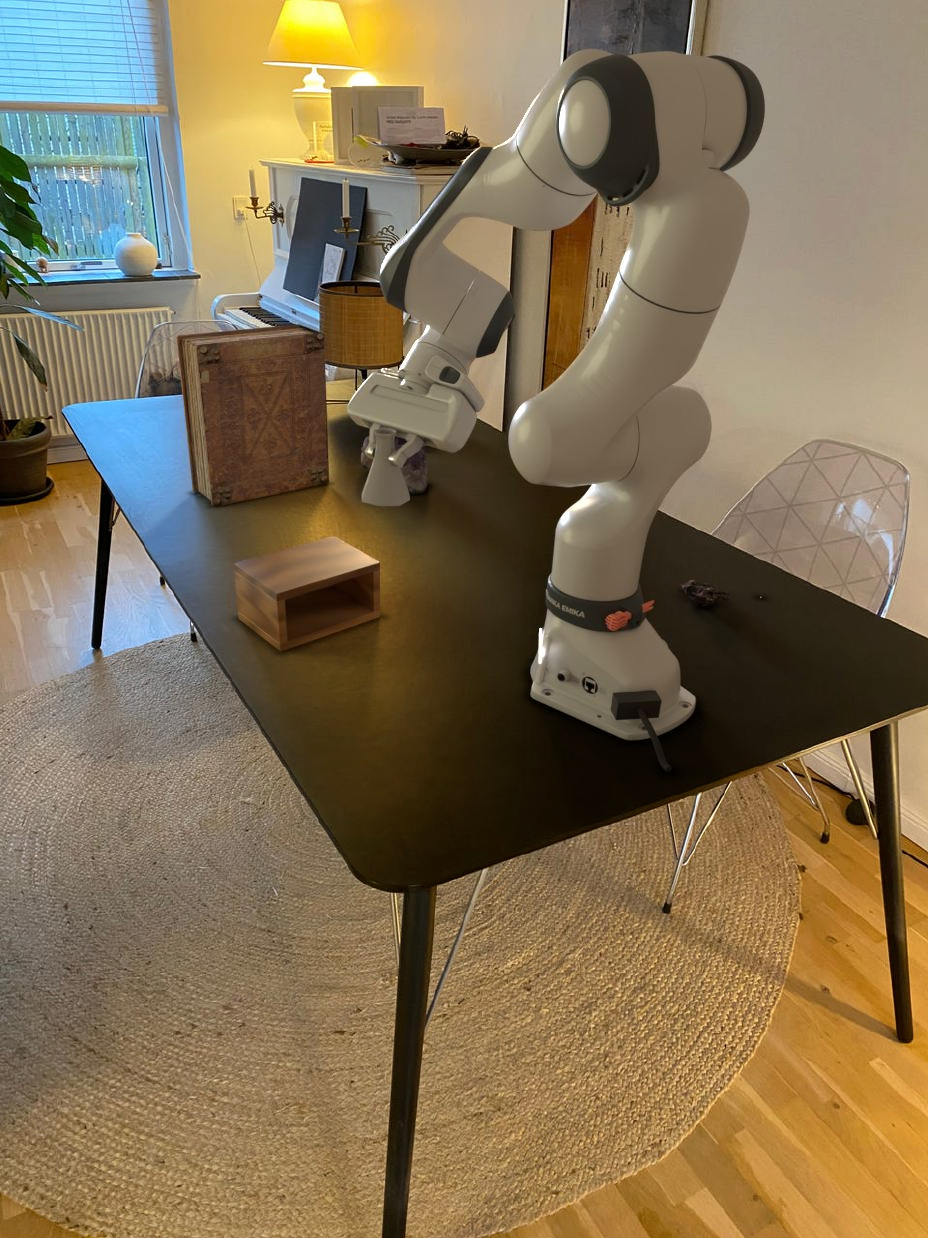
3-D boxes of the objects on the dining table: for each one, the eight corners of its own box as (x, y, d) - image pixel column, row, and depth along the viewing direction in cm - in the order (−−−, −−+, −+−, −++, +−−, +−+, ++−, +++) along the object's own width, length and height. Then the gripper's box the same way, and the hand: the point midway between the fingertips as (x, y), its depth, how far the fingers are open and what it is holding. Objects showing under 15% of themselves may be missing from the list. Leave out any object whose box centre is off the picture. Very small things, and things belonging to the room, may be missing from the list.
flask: (403, 510, 126) (403, 440, 121) (353, 505, 127) (352, 435, 122) (416, 493, 132) (417, 426, 127) (369, 488, 133) (367, 421, 128)
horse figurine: (724, 595, 151) (659, 596, 143) (730, 572, 150) (664, 572, 142) (766, 612, 144) (700, 614, 136) (772, 588, 143) (706, 589, 135)
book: (211, 507, 170) (194, 344, 156) (192, 492, 177) (174, 335, 163) (330, 483, 184) (324, 331, 170) (308, 470, 191) (301, 323, 176)
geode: (450, 489, 184) (446, 443, 178) (400, 505, 179) (395, 458, 174) (403, 456, 199) (399, 413, 193) (356, 470, 194) (350, 426, 188)
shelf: (380, 617, 135) (380, 562, 130) (280, 651, 125) (276, 593, 121) (335, 588, 143) (334, 535, 138) (238, 618, 133) (233, 563, 128)
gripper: (366, 353, 131) (319, 432, 129) (475, 378, 120) (425, 465, 118) (388, 378, 137) (342, 455, 135) (494, 405, 125) (447, 489, 123)
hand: (382, 460), depth 126 cm, fingers closed on flask, 3 cm apart
